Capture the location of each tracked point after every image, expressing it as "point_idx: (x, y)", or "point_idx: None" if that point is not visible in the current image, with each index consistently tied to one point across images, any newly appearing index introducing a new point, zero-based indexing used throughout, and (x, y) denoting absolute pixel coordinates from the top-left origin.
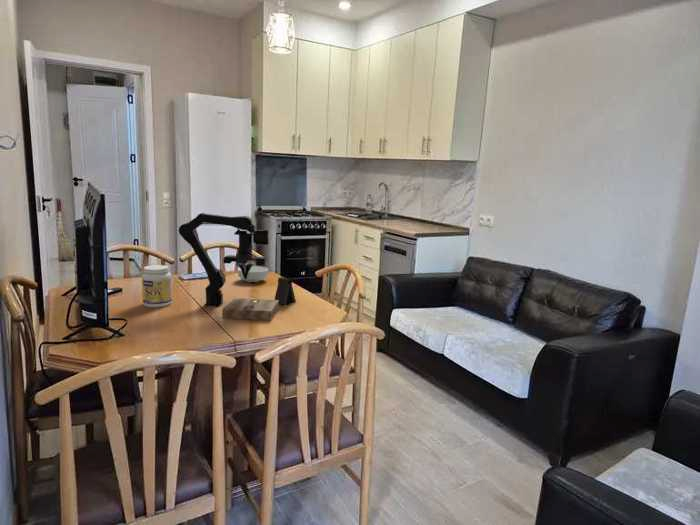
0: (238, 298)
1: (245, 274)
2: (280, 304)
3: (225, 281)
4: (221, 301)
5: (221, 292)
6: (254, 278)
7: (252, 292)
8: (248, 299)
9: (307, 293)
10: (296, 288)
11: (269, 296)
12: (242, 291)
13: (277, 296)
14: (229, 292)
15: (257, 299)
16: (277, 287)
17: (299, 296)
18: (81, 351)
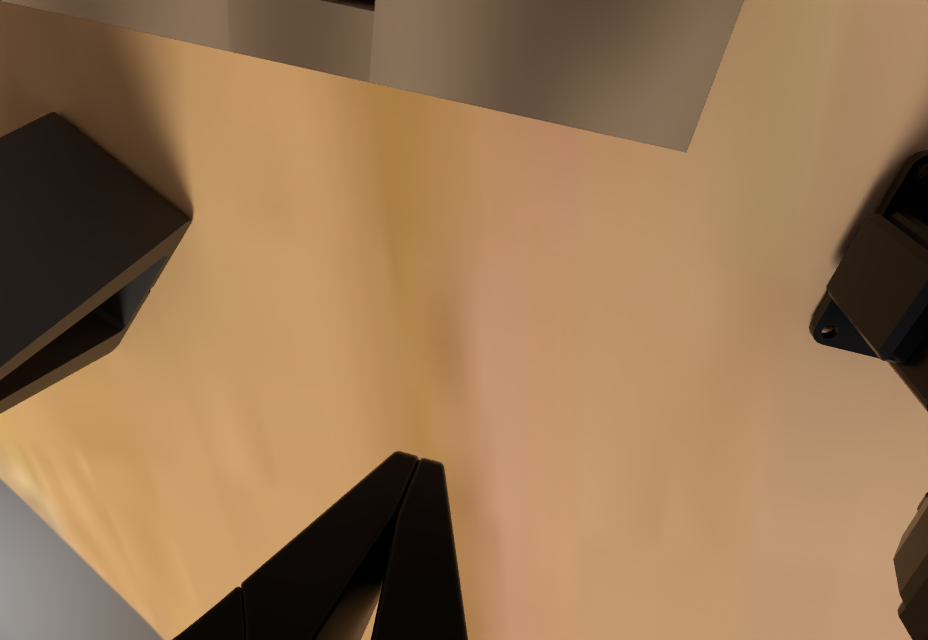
0: (609, 122)
1: (370, 545)
2: (86, 146)
3: (900, 579)
4: (874, 236)
5: (915, 372)
6: None
7: (466, 598)
8: (428, 43)
9: (27, 499)
10: (150, 616)
11: (298, 474)
12: (557, 636)
13: (82, 249)
14: (681, 636)
15: (277, 39)
16: (8, 355)
17: (50, 436)
18: None
